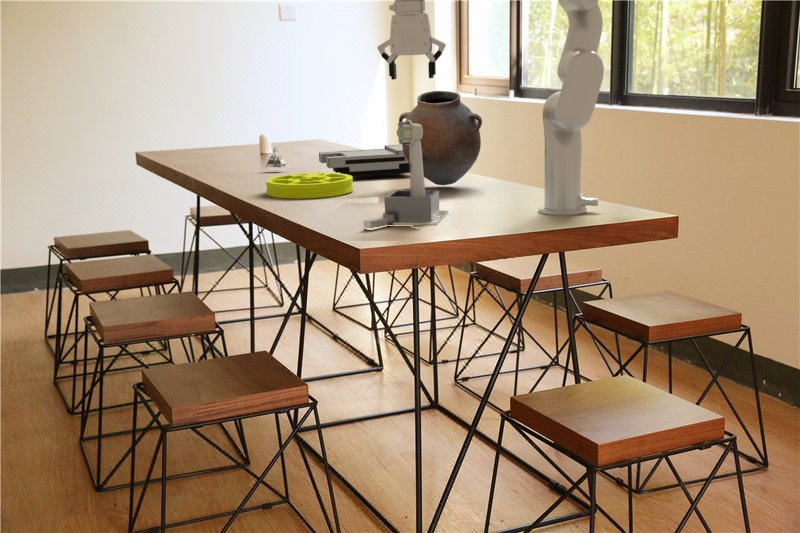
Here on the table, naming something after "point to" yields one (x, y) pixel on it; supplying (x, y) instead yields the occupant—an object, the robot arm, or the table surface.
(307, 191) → the pulley
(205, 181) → the table surface
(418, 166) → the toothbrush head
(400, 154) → the game console
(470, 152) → the clay pot
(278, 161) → the house of cards
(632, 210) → the table surface
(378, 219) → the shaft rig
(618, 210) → the table surface
